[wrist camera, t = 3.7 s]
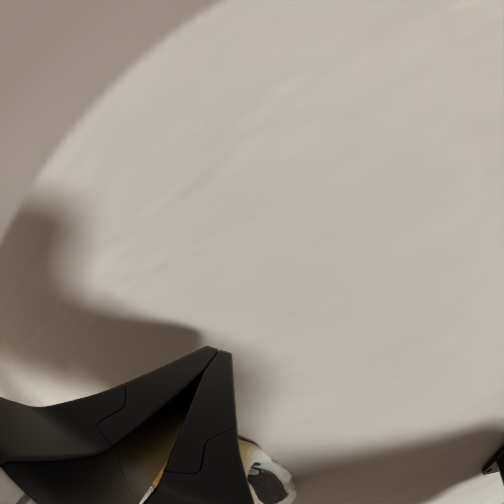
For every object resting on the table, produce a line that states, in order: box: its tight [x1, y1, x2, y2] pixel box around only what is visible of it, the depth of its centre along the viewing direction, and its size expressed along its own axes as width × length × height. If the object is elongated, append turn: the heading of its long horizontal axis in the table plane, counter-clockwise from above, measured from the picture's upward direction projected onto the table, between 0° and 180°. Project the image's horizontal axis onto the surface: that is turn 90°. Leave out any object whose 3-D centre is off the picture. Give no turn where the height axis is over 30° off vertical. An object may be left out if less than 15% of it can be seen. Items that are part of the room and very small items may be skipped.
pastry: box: [151, 438, 297, 504], centre depth 12 cm, size 9×7×4 cm
